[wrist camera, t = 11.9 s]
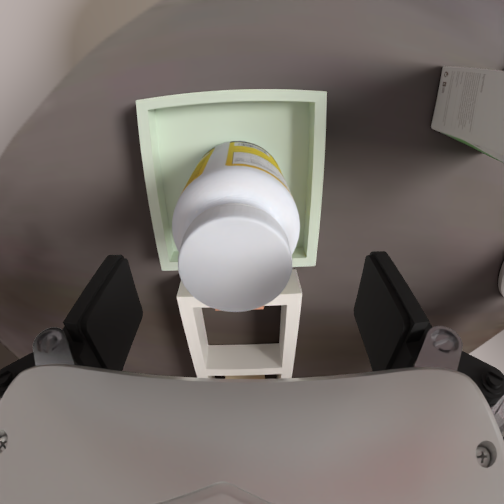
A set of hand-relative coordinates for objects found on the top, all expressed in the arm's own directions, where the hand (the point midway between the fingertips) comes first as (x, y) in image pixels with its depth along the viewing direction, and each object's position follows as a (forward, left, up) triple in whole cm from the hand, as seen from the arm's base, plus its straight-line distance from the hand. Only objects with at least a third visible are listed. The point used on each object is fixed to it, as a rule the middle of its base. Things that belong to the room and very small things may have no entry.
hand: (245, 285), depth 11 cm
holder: (+1, +19, -13) cm, 23 cm away
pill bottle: (0, 0, -13) cm, 13 cm away
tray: (+1, 0, -13) cm, 13 cm away
